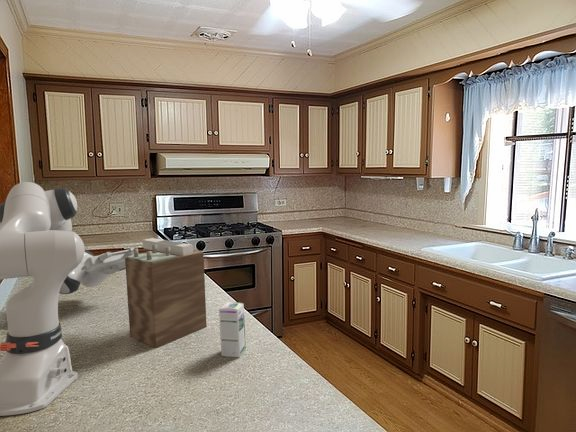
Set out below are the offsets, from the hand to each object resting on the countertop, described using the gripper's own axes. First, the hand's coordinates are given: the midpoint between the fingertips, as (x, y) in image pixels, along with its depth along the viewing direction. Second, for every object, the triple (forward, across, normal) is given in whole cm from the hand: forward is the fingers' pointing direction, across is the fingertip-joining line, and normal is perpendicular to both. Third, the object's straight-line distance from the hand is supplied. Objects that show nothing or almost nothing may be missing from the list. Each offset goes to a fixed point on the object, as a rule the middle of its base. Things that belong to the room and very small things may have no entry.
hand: (121, 251), depth 157 cm
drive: (+23, +2, +10) cm, 26 cm away
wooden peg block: (+15, -3, +35) cm, 38 cm away
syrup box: (+39, -2, +50) cm, 63 cm away
